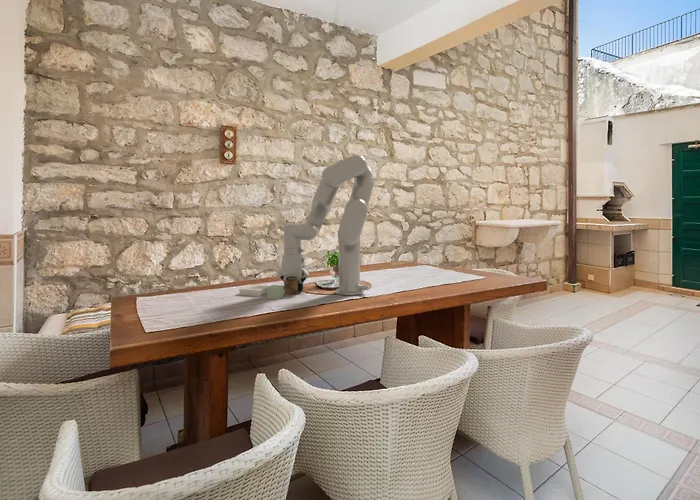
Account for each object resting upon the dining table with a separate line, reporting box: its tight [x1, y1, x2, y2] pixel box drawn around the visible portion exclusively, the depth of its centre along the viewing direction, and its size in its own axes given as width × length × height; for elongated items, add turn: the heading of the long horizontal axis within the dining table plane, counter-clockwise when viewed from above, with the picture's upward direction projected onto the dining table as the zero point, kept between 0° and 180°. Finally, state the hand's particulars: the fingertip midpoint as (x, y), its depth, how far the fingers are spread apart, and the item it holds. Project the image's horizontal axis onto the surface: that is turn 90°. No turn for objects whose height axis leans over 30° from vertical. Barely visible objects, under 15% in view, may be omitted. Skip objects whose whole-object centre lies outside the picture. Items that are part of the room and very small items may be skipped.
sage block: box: [266, 284, 284, 300], centre depth 174 cm, size 5×5×5 cm
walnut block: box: [283, 278, 304, 295], centre depth 183 cm, size 6×6×6 cm
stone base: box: [238, 284, 269, 297], centre depth 183 cm, size 10×10×2 cm
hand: (293, 290), depth 184 cm, fingers closed on walnut block, 6 cm apart
